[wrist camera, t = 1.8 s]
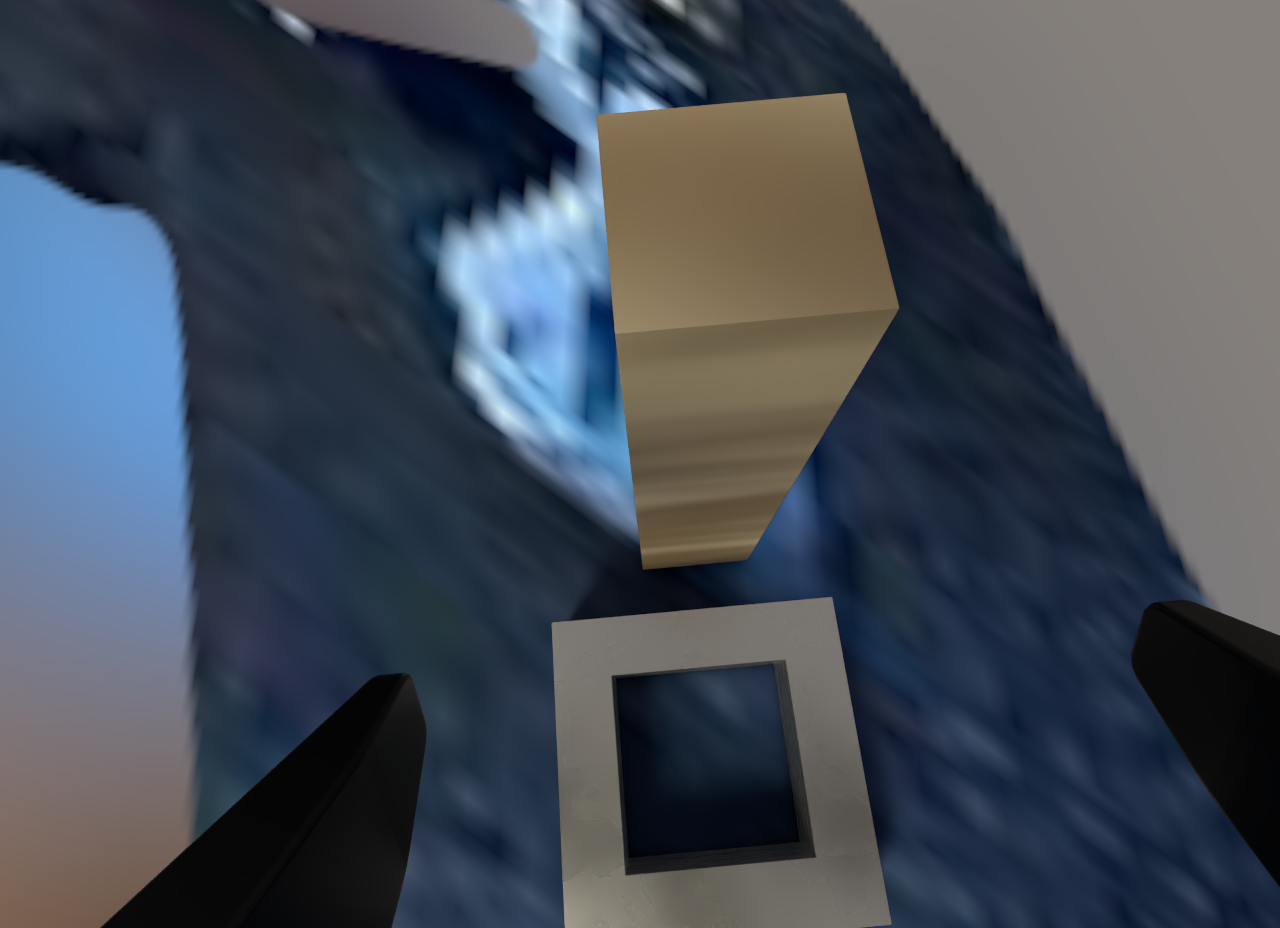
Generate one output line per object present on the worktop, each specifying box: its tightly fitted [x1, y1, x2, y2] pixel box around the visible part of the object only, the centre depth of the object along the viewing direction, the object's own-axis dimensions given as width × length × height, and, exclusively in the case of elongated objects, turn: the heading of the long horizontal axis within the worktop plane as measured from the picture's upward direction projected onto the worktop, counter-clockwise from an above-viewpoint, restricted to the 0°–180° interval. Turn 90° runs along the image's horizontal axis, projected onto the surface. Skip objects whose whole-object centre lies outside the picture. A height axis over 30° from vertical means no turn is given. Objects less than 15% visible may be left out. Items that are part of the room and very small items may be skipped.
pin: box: [596, 93, 899, 570], centre depth 15 cm, size 3×3×14 cm
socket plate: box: [552, 597, 892, 928], centre depth 18 cm, size 8×8×2 cm
